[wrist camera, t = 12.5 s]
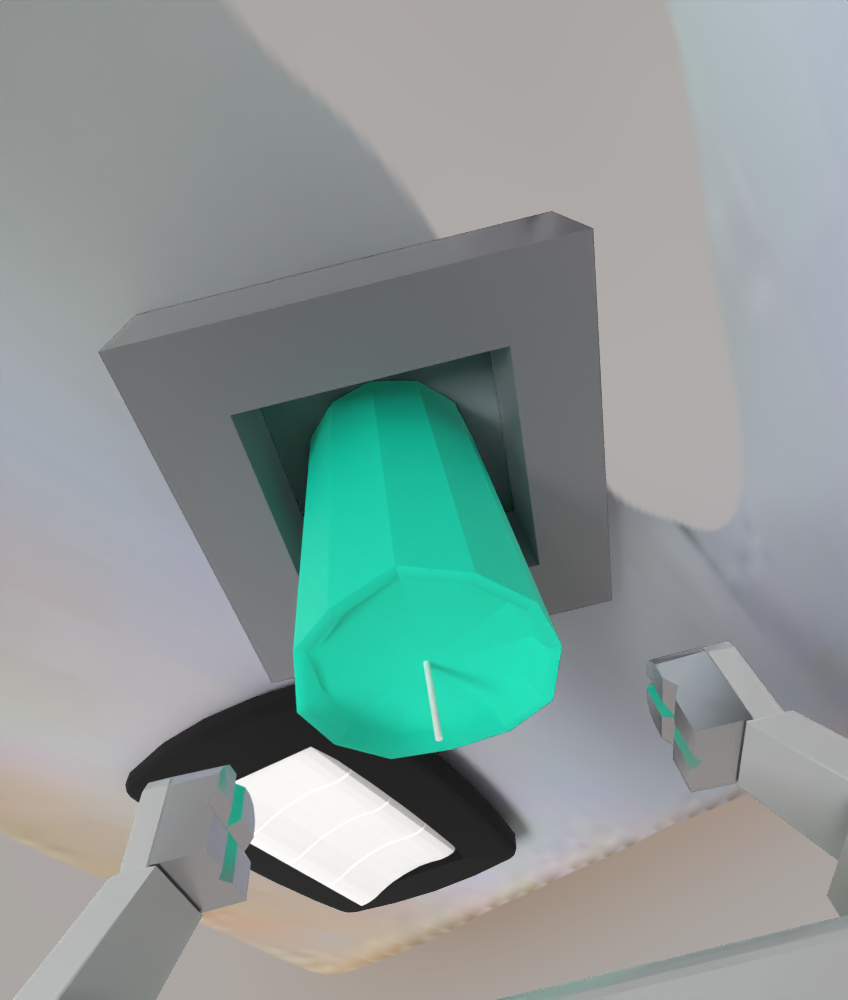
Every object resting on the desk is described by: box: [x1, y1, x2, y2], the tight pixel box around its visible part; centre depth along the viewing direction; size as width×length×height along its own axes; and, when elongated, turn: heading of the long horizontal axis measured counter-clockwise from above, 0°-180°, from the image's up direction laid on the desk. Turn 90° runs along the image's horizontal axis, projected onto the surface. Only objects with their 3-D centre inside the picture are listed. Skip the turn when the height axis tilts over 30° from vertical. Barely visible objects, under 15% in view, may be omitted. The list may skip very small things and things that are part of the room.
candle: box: [293, 381, 562, 759], centre depth 17 cm, size 6×6×12 cm
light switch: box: [126, 685, 516, 912], centre depth 32 cm, size 20×3×14 cm
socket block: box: [99, 211, 612, 683], centre depth 20 cm, size 13×13×4 cm
